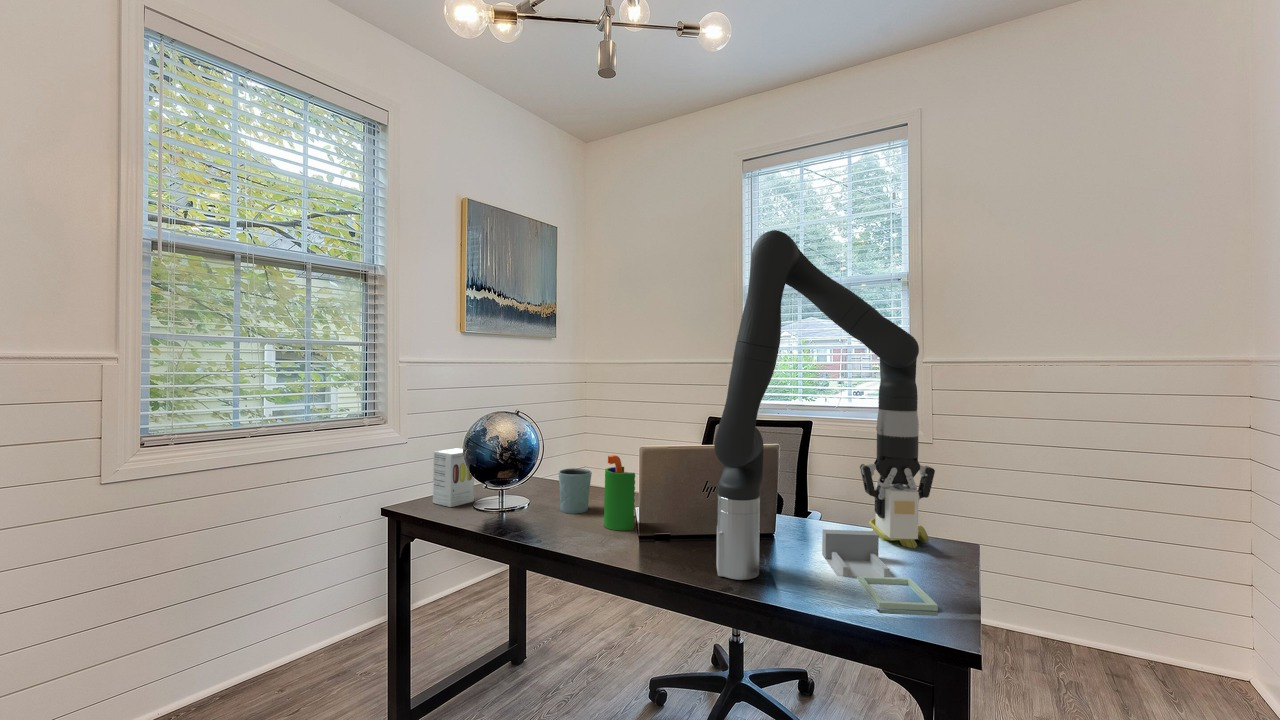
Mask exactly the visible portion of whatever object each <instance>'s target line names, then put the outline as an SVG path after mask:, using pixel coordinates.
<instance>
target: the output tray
mask: <svg viewBox="0 0 1280 720" xmlns="http://www.w3.org/2000/svg"><path fill="white" fill-rule="evenodd" d="M857 582H859V584H860V586H861V587H862V589H864V590H865V592H866V593H867V594H868V596H869V597H870V598H871V599H872V601H873V603H875V605H876V606H877V609H876V612H878V613H879V614H886V615H887V614H888V615H910V616H932V617H934V616H936V617H938V616H939V614H938V613H939V612H938V611H939V605H938V603H937V602H935V601H934V600H933V599H932V598H931V597H930V596H929V595H928V594H927V593H926V592H925V591H924V590H923V589H922V588H921V587H920V586H919V585H918V584H917V583H916V582H914V580H913V579H912V578H910V577H894V578H892V577H866V576H858V577H857ZM870 584H882V585H883V584H885V585H907V586H908V587H909V588H910V589H911V590H913V592H915V594H916V595H918V597H919V598H920V599H921V600H922V601H923V602H914V601H913V602H912V601H910V602H909V601H889V600H882V599H881V598H880V596H879V595H878V593H876V592H875V590H874V589H873V588H872V586H870ZM878 608H879V609H878Z"/></svg>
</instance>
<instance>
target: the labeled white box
mask: <svg viewBox="0 0 1280 720" xmlns="http://www.w3.org/2000/svg"><path fill="white" fill-rule="evenodd" d="M877 482H878V481H876V482H875V488H876V487H877ZM884 500H885V518H880V517H879V516H878V515H877V514H876V513H875V518H876V524H875V525H876V526H877V527H878V528H879V529H880V530H881V531H882V532H883V533H885V534H886V535H887V536H888V537H889V538H899V539H914V540H918V525H919V501H920V499H919V492H917V491H916V490H914V489H909V488H908V487H906V486H904V485H903V484H901V483H897V484H891V486H890V488H889V489H887V488H886V489H885V497H884ZM918 500H919V501H918Z"/></svg>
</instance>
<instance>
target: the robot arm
mask: <svg viewBox="0 0 1280 720" xmlns="http://www.w3.org/2000/svg"><path fill="white" fill-rule="evenodd" d="M796 243H797V242H795V240H793V238H792V237H791V236H790V235H788V234H787V233H786V232H783V231H780V230H775V229H774V230H773V229H772V230H769V231H766V232H764V233H762V234H761V235H760V236H759V237H758V239H756V241H755V242H754V245H753V247H752V251H751V257H750V268H749V269H750V270H749V281H748V287H747V295H746V299H745V300H746V301H745V304H744V307H743V312H742V315H741V319H740V324H739V328H738V333H737V337H736V341H735V346H734V347H735V348H734V352H733V356H732V365H731V370H730V375H729V379H728V380H729V382H728V387H727V394H726V401H725V404H724V408H723V411H722V415H721V418H720V421H719V425H718V428H717V430H716V434H715V438H714V443H713V445H714V447H713V448H714V453H715V456H716V458H717V459H718V461H719V462H720V464H722V472H721V476H720V478H719V481H718V484H717V524H716V564H715V565H716V572H717V577H724V578H728V579H731V580H738V581H743V580H744V581H745V580H752V579H755V578H757V577H759V575H760V517H761V516H760V514H761V511H760V509H761V508H760V507H761V504H760V503H761V487H762V483H763V477H764V476H763V475H764V455H765V454H764V448H765V447H764V446H765V445H764V439H763V435H762V433H761V432H760V430H759V429H758V428H757V426H756V425H757V418H758V414H759V409H760V405H761V403H762V400H763V398H764V395H766V394H765V393H766V391H767V390H768V387H769V384H770V382H771V380H772V377H773V374H774V372H775V368H776V364H777V361H778V356H779V350H780V347H781V346H780V345H781V338H782V337H781V335H782V334H781V333H782V302H783V301H782V299H783V295H784V290H785V286H786V285H787V286H788V287H791V288H792V289H793V290H795V291H796V292H798V293H800V294H801V295H802V296H804V298H806V299H808V300H809V301H810V302H811V303H812V304H813V305H814V306H815V307H816V308H817V309H818V310H819V311H820V312H822V314H823V315H825V316H826V317H827V318H828V319H829V320H830V321H832V323H834V324H835V325H837V326H838V327H840V328H841V330H843V331H844V332H845V333H847V334H848V335H850V336H851V337H852V338H854V339H856V340H857V341H858V342H861V343H862V344H863V345H864V346H866V348H868V350H870V351H871V352H873V354H874V355H876V357H878V358H879V374H880V381H879V389H878V412H877V416H876V417H877V419H876V428H875V429H876V459H875V461H874V463H871V464H864V463H861V464H860V466H859V469H860V474H861V478H862V483H863V487H864V488H863V489H864V492H865V493H866V494H868V495H869V496H870V497H873V498H874V513H875V515H876V514H877V515H878V516H879V517H880V518H885V500H884V497H885V489H886V488H887V489H889V488H890V486H891V484H897V483H901V484H903V485H904V486H906V487H908V488H909V489H914V490H916V491H917V492H919V500H918V502H919V501H920V500H921V499H924V498H926V499H927V498H929V497H930V494H931V489H932V485H933V482H934V476H935V472H936V469H935V468H933V467H931V466H929V465H921V464H920V463H919V462H920V461H919V460H918V459H919V432H920V431H919V429H920V428H919V427H920V426H919V416H918V415H919V413H918V386H917V380H916V377H917V363H918V362H917V360H918V359H917V358H918V356H919V354H920V353H919V352H920V346H919V344H918V341H917V339H916V338H915V337H914V336H913V335H912V334H910V333H909V332H907V331H906V330H905V329H903V328H902V327H900V326H898V325H897V324H896V323H894V322H893V321H891V320H890V319H888V318H886V317H885V316H883V315H882V314H881V313H880V312H879V311H878V310H877V309H876V308H875V307H873V306H871V305H870V304H869V303H868V302H866V300H864V299H863V298H862V297H861V296H859V295H857V294H856V293H854V292H853V291H852V290H850V289H848V288H847V287H846V286H843V285H842V284H841V283H839V282H838V281H835V279H832V278H831V277H830V276H828V275H827V274H825V272H823V271H822V270H821V269H819V268H818V267H817V266H816V265H815V264H813V262H812V261H810V260H809V258H807V256H806V255H805V254H804V253H803V252H802V251H801V250H800V249H799V246H798V245H797V244H796ZM875 470H876V472H877V473H878V474H879V477H878V480H877V481H876V482H877V487H876V486H874V482H873V480H874V479H873V476H874V474H875ZM918 473H919V475H920V480H919V484H918V488H917V484H916V482H915V479H914V478H915V477H916V475H917V474H918Z"/></svg>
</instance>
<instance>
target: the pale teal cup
mask: <svg viewBox="0 0 1280 720" xmlns="http://www.w3.org/2000/svg"><path fill="white" fill-rule="evenodd" d="M592 473H593V472H592V470H590V469H587V468H576V467H575V468H572V467H571V468H564V469H560V470H559V471H558V480H559V482H558V483H559V484H558V485H559V497H560V499H559V505H560V506H559V509H560V512H562V513H565V514H570V515H571V514H574V515H575V514H583V513H586V512H588V511H589V510H588V509H589V501H590V500H589V498H590V489H591V488H590V487H591V481H592Z"/></svg>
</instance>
